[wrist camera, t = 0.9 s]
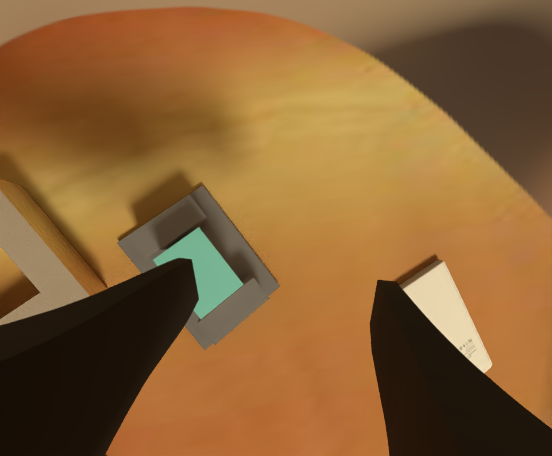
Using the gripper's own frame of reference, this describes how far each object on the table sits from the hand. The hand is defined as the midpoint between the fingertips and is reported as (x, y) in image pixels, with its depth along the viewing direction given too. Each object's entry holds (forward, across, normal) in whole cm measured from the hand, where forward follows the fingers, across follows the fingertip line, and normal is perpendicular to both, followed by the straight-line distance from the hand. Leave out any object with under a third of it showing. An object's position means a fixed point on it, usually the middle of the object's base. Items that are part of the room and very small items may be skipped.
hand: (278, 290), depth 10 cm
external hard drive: (+16, -13, +15) cm, 25 cm away
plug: (+8, +8, +5) cm, 13 cm away
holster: (+9, +8, +6) cm, 13 cm away
